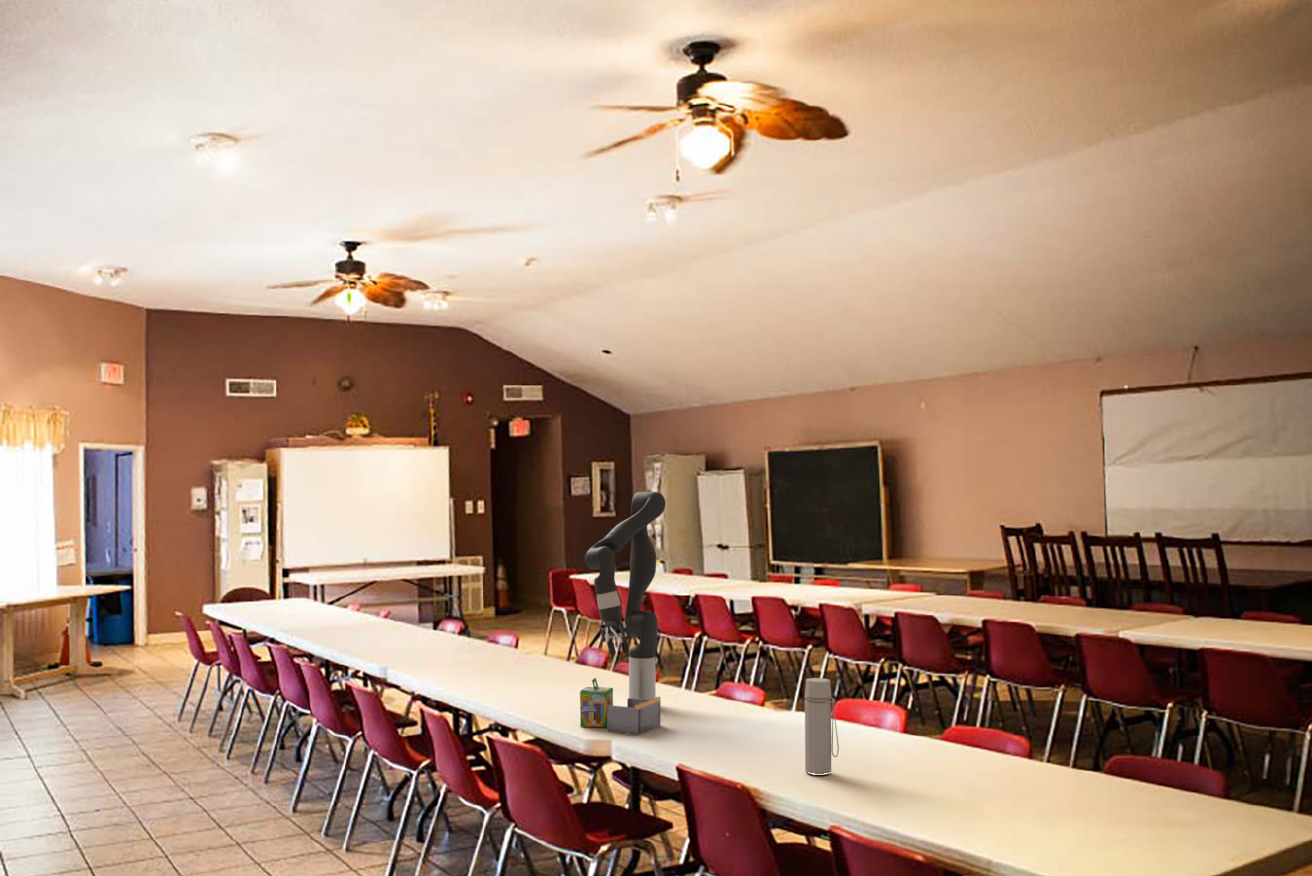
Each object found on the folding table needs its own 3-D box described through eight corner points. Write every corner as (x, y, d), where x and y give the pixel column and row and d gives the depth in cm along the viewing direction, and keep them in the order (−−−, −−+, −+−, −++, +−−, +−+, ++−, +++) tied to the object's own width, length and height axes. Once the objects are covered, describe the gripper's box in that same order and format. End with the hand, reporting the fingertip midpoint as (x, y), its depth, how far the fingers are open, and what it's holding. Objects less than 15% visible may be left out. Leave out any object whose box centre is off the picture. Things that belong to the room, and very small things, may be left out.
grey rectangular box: (630, 722, 374) (630, 694, 375) (660, 725, 369) (660, 696, 370) (606, 732, 360) (606, 702, 360) (637, 735, 355) (637, 705, 355)
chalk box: (607, 728, 365) (607, 681, 366) (579, 727, 367) (579, 680, 368) (614, 722, 374) (614, 677, 375) (586, 721, 376) (587, 676, 377)
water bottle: (801, 776, 306) (801, 681, 307) (808, 769, 313) (807, 676, 314) (835, 779, 302) (834, 683, 303) (841, 772, 310) (841, 679, 311)
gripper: (629, 602, 382) (639, 650, 381) (607, 604, 394) (617, 651, 392) (611, 607, 378) (621, 655, 377) (589, 609, 389) (599, 656, 388)
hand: (619, 653), depth 384 cm, fingers open, 8 cm apart
